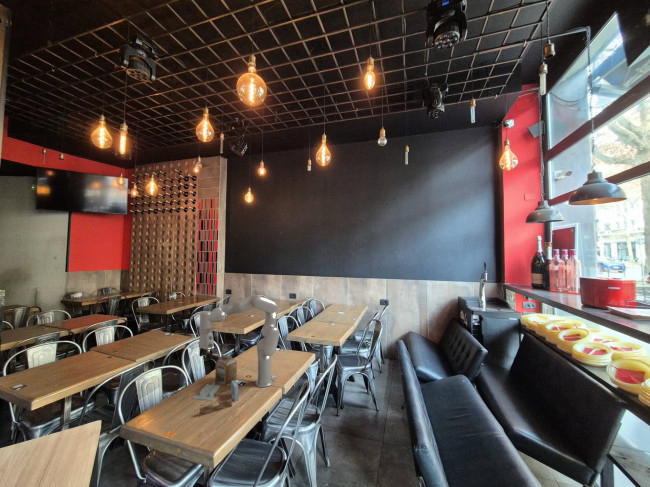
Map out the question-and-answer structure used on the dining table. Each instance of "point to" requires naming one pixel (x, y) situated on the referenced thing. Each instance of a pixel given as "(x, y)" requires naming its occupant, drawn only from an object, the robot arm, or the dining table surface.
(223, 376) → the milk carton
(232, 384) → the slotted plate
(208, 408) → the walnut board
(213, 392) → the metal bracket
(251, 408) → the dining table surface
